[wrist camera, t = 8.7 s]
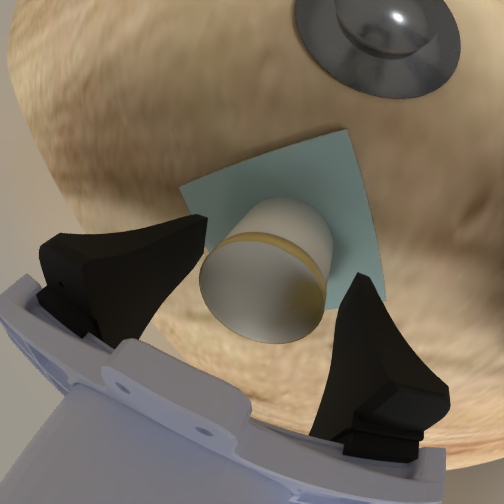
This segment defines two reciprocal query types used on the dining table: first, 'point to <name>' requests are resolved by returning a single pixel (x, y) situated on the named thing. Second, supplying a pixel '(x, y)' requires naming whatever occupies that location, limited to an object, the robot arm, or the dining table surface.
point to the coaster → (304, 189)
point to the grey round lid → (382, 43)
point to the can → (271, 272)
